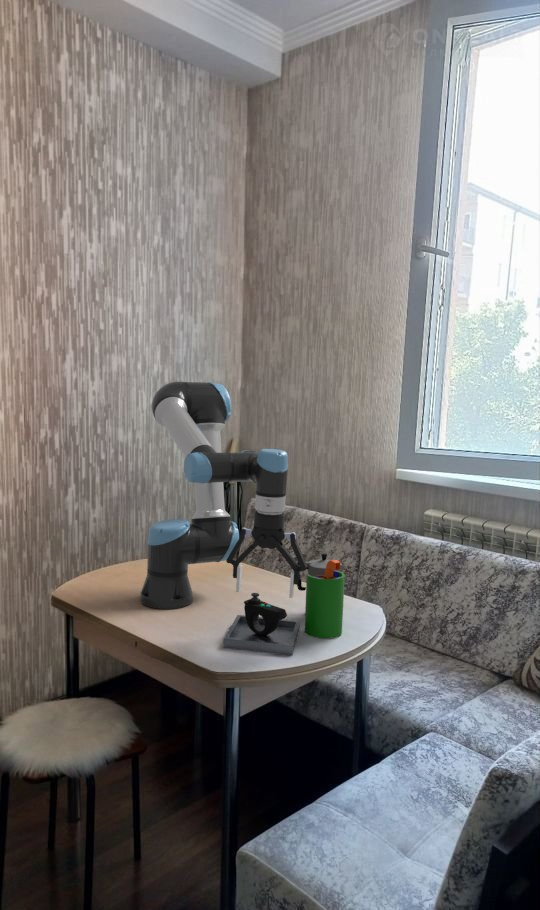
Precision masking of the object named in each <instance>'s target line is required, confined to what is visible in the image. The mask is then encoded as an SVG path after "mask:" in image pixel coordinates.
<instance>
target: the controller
mask: <svg viewBox="0 0 540 910" xmlns="http://www.w3.org/2000/svg"><path fill="white" fill-rule="evenodd" d="M250 596H251V598H249V599H247V600H244V601H243V604H244V607H243V608H244V616H245V617H246V622H247V624H248V626H249V628H250V629H251V630H252V631H253V632H254V633H256V634H257V635H261V636H263V635H268V634H270V633H272V632H273V631H275V629H276V628H277V626H278V622H279V620H282V619H284V620H285V619H286V618H287V616H288V613H287V611H286V609H285V608H282V607H279V606H276V605H272V604H270V603H268V602H266V601H262V600H261V599H259V597H260V594H259V593H258V592H252V593H251V595H250ZM259 617H262V618H263V619H264V621H265V628H263V627H262V626H261V625H260V623H259V619H258V618H259Z"/></svg>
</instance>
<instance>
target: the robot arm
mask: <svg viewBox="0 0 540 910" xmlns="http://www.w3.org/2000/svg"><path fill="white" fill-rule="evenodd" d="M151 410H152V411H151V412H152V415H153V417H154V418H155V421H156V422H157V424H159V425H160V426H161V427H164V428H165V429H166V431H167V432H168V434H169V436H170V437H171V439H172V440H173V442H174V443H175V445H176V447H177V448H178V449H179V451H180V453H181V454H182V455H183V457H184V461H183V472H184V476H185V479H186V480H187V481H188V482H189V483H191V484H192V483H193V484H194V493H195V494H194V495H195V498H194V499H195V511H196V512H195V513H194V515H192V517H191V523H190V521H189V520H187V519H183V518H170V519H164V520H159V521H157V522H155V523H153V524H152V525H151V526H150V527H149V530H148V536H147V564H146V565H147V568H146V570H147V572H146V577H145V580H144V582H143V585H142V587H141V591H140V595H139V596H140V599H139V601H140V603H141V602H142V603H143V604H142V603H141V604H142V605H144V606H145V605H146V607H149V608H153V609H160V610H173V609H180V608H181V609H182V608H185V607H188V606H189V605H191V604H192V603H193V598H194V597H193V596H194V593H193V590H192V585H191V583H190V582H191V581H190V579H189V575H188V572H189V571H188V570H189V569H188V568H189V565H196V564H208V563H220V562H225V563H227V564H231V566H232V578H233V579H236V586H235V587H236V588H235V592H236V593H240V591H241V590H242V579H243V576H242V575H243V564H241V562H243V561H244V560H245V559H246V557H248V556H249V555H250V553H252V552H253V550H255V549H256V548H257V547H259V548H260V549H269V550H274V549H276V550H277V551H278V552H279V553H280V554H281V556H282V557H283V558H284V560H285V561H286V562H287V564H288V565H289V566H290V568H291V571H290V579H289V582H290V583H289V594H288V595H289V596H288V597H289V599H293V597H294V591H295V585H296V586H297V584H298V582H299V573H300V572H305V571H306V570H307V569H306V568H307V564H306V562H307V561H306V559H305V558H304V555H303V553H302V550H301V548H300V546H299V544H298V541H297V533H296V531H294V530H293V531H291V532H285V529H284V527H285V515H286V514H285V513H284V512H285V510H286V499H287V497H286V496H287V495H286V493H287V485H288V482H287V481H288V471H289V462H288V460H289V459H288V457H289V456H288V452H287V451H286V450H283V449H278V448H277V449H276V448H261V449H260V450H259V451H255V450H248V449H246V450H242V451H238V452H223V451H222V440H221V439H222V438H221V431H222V430H223V429H224V428H225V426H226V422H227V421H228V420H229V419H230V417H231V411H232V401H231V397H230V393H229V392H228V390H227V388H226V387H225V386H224V385H223V384H221V383H213V382H202V381H201V382H199V381H198V382H197V381H196V382H195V381H194V382H192V381H173V382H168V383H166V384H165V385H163V386H162V387H160V388H158V390H157V391H156V393H155V394H154V396H153V398H152V402H151ZM235 482H238V483H239V482H253V483H255V500H254V501H255V502H254V510H256V511H255V512H254V517H253V529H251V528H247V526H243V527H242V528H241V530H240V532H239V529H238V525H237V523H236V522H235V521H233V520H231V515H230V514H229V513H228V512H227V511H226V508H225V489H224V483H235ZM250 535H251V536H252V538H253V539H254V541H253V542H252V543H250V545H248V547H247V548H246V549H245V550H244V551H243V552H242V553H241V554H240V555H239V556H238V557H237V558H234V557H235V556H236V554H237V553H238V551H239V549H240V548H241V546H242V544H243V543H244V541H245V539H246V538H248V537H249V536H250ZM285 538H286V539H287V541H288V542H290V546H291V548H292V551H293V553H294V555H295V558H296V560H297V561H296V560H295V559H294V557H293V556H292V555H291V553H290V552H289V551H288V549H287V548H286V546H285V544H284V543H283V540H285ZM297 563H299V565H298V564H297Z"/></svg>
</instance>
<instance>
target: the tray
mask: <svg viewBox="0 0 540 910" xmlns="http://www.w3.org/2000/svg"><path fill="white" fill-rule="evenodd" d="M258 619H259V623H260V625H261V626H262V627H263V628H265V621H264V619H263V618H262V616H259V618H258ZM300 632H301V620H293V619H292V620H291V619H285V618H284V619H282V620H279V622H278V626H277V628H276V629H275V631H273V632H272V633H270V634H268V635H263V636H261V635H257V634H256V633H254V632H253V631H252V630H251V629H250V628H249V626H248V624H247V622H246V617H245V614H244V615H242V614H237V615H236V617H235V618H234V620H233V622H232V624H231V625H230V627H229V628H228V630H227V632H226V634H225V635H224V637H223V649H229V650H236V651H237V650H238V651H245V652H246V651H248V652H254V653H255V652H256V653H267V654H275V655H284V656H293V655H294V651H295V649H296V648H295V647H296V645H297V642H298V639H299V636H300Z"/></svg>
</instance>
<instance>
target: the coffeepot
mask: <svg viewBox="0 0 540 910" xmlns="http://www.w3.org/2000/svg"><path fill="white" fill-rule="evenodd" d="M327 557H328V554H327V553H321V559H314V560H313V559H312V560H308V561H305V562H306V564H307V568H306V570H307V575H310V576H313V577H314V576H318V575H325V570H326V565H327V563H328V561H331V560H332V559H331V560H329V559H327ZM296 563H297V564H298V565H299V563H298V562H296ZM346 567H347V565H346V564H345V563H342V562H340V570H337V571H340V572H342V573H343V570H344V569H345V568H346ZM296 586H297V589H298V591H305V592H306V586H302V579H301V574H300V572H299V582H298V584H297V585H296Z"/></svg>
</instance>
